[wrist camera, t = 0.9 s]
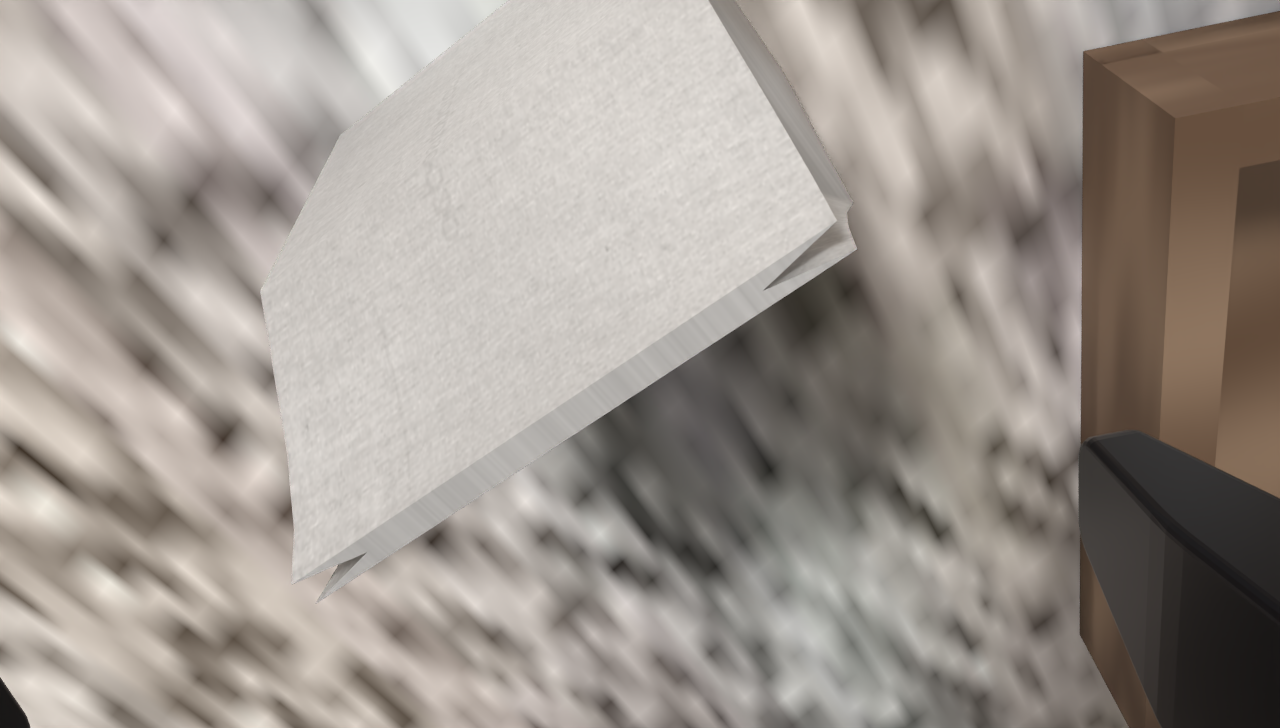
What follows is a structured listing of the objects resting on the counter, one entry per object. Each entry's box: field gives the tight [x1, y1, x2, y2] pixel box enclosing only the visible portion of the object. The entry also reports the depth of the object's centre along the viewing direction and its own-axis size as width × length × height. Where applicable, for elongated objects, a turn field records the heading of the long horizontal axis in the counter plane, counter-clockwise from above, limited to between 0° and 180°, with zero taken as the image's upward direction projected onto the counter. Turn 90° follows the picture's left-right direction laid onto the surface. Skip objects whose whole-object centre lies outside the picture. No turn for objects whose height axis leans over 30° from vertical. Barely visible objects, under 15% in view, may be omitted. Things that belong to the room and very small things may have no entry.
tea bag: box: [260, 0, 857, 603], centre depth 15 cm, size 4×7×10 cm, turn 127°
